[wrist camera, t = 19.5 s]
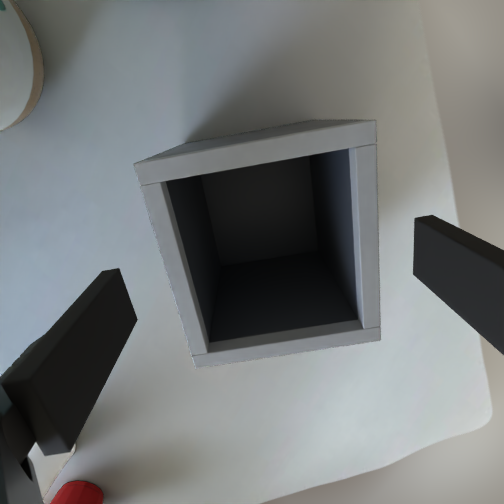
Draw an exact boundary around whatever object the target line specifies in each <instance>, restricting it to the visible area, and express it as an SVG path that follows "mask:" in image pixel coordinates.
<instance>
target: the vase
mask: <svg viewBox="0 0 504 504" xmlns="http://www.w3.org/2000/svg"><path fill="white" fill-rule="evenodd" d="M43 81H44V64H43V58H42V53H41V49H40V46H39V43H38V40H37V38H36V36H35V34H34V31H33V29H32V27H31V25H30V24H29V22H28V21H27V19H26V17H25V16H24V14H23V13H22V11H21V10H20V8H19V7H18V6H17V5H16V3H15V2H14V1H13V0H0V131H3V130H6V129H8V128H10V127H12V126H14V125H16V124H18V123H19V122H21V121H22V120H23V119H24V118H25V117H27V116H28V115H29V114H30V112H31V111H32V110H33V108H34V107H35V106H36V104H37V102H38V100H39V98H40V95H41V92H42V88H43Z"/></svg>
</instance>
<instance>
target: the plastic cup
mask: <svg viewBox="0 0 504 504" xmlns="http://www.w3.org/2000/svg"><path fill="white" fill-rule="evenodd" d="M50 504H103V493H102V491H101V489H100V488H98V487H97V486H96V485H94V484H92V483H89V482H85V481H72V482H68V483H67V484H65V485H63V486H62V488H61V489H60V490H59V491H58V492H57V494H56V495H55V497H54V498H53V500H52V501H51V503H50Z"/></svg>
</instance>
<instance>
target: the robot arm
mask: <svg viewBox="0 0 504 504" xmlns="http://www.w3.org/2000/svg"><path fill="white" fill-rule="evenodd" d="M413 275H414V276H416V277H417V278H418V279H419V280H420V281H421V282H422V283H423V284H425V285H426V286H427V287H428V288H429V289H430V290H431V291H432V292H433V293H435V294H436V295H437V296H438V297H439V298H440V299H441V300H442V301H444V302H445V303H446V304H447V305H448V306H449V307H450V308H451V309H452V310H454V311H455V312H456V313H457V314H458V315H459V316H460V317H461V318H463V319H464V320H465V321H466V322H467V323H468V324H469V325H470V326H472V327H473V328H474V329H475V330H476V331H477V332H478V333H479V334H480V335H482V336H483V337H484V338H485V339H486V340H487V341H488V342H489V343H491V344H492V345H493V346H494V347H495V348H496V349H497V350H498V351H500V352H501V353H502V354H503V355H504V250H502V249H500V248H498V247H496V246H494V245H491V244H490V243H488V242H486V241H484V240H482V239H480V238H478V237H476V236H474V235H472V234H470V233H468V232H466V231H464V230H462V229H460V228H458V227H456V226H454V225H452V224H450V223H448V222H446V221H444V220H442V219H440V218H438V217H436V216H434V215H429V216H423V217H417V218H415V222H414V259H413ZM137 320H138V319H137V316H136V314H135V311H134V308H133V305H132V302H131V300H130V297H129V294H128V291H127V289H126V286H125V283H124V280H123V278H122V275H121V272H120V269H119V268H117V269H111V270H105V271H102V272H101V273H100V274H99V275H98V276H97V277H96V279H95V280H94V281H93V282H92V283H91V284H90V285H89V286H88V287H87V289H86V290H85V291H84V292H83V293H82V294H81V295H80V296H79V297H78V299H77V300H76V301H75V302H74V303H73V304H72V305H71V306H70V307H69V308H68V310H67V311H66V312H65V313H64V314H63V315H62V316H61V317H60V318H59V320H58V321H57V322H56V323H55V324H54V325H53V326H52V327H51V328H50V330H49V331H48V332H47V333H46V334H45V335H43V336H42V337H40V338H39V339H38V340H36V341H35V342H33V343H32V344H31V345H30V346H29V347H28V348H27V349H26V350H25V351H24V352H23V353H22V354H21V355H20V358H17V360H16V361H15V362H14V363H13V364H12V367H9V368H8V369H7V370H6V371H5V372H4V374H3V375H2V376H1V377H0V504H44V503H43V499H42V495H41V492H40V488H39V484H38V480H37V476H36V473H35V469H34V465H33V462H32V461H31V459H30V458H29V456H28V454H29V452H30V450H31V449H32V447H33V446H34V444H35V443H37V445H38V446H39V448H40V449H41V451H42V453H43V454H44V456H49V455H56V454H62V453H69V452H71V450H72V448H73V446H74V444H75V442H76V440H77V438H78V436H79V434H80V432H81V430H82V428H83V426H84V424H85V423H86V421H87V419H88V417H89V415H90V413H91V411H92V409H93V407H94V405H95V403H96V401H97V399H98V397H99V395H100V393H101V391H102V389H103V387H104V385H105V383H106V381H107V379H108V377H109V375H110V373H111V371H112V369H113V367H114V365H115V363H116V361H117V359H118V358H119V356H120V354H121V352H122V350H123V348H124V346H125V344H126V342H127V340H128V338H129V336H130V334H131V332H132V330H133V328H134V326H135V324H136V322H137Z"/></svg>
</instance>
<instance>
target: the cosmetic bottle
mask: <svg viewBox="0 0 504 504" xmlns="http://www.w3.org/2000/svg"><path fill="white" fill-rule="evenodd" d="M75 448H76V445H75V444H74V446H73V448H72V450H71V452H69V453H62V454H56V455H49V456H44V454H43V453H42V451H41V449H40V448H39V446H38V445H37V443H35V444H34V446H33V447H32V449H31V450H30V452H29V454H28V456H29V458H30V459H31V461H32V462H33V465H34V469H35V473H36V476H37V480H38V484H39V488H40V492H41V495H42V499H43V498H44V496H45V495H46V493H47V492H48V490H49V488H50V487H51V485H52V484H53V482H54V481H55V479H56V477H57V476H58V474H59V473H60V472H61V470H62V469H63V467H64V466H65V464H66V463H67V462H68V460H69V459H70V457H71V456H72V455H73V453H74V451H75Z"/></svg>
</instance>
